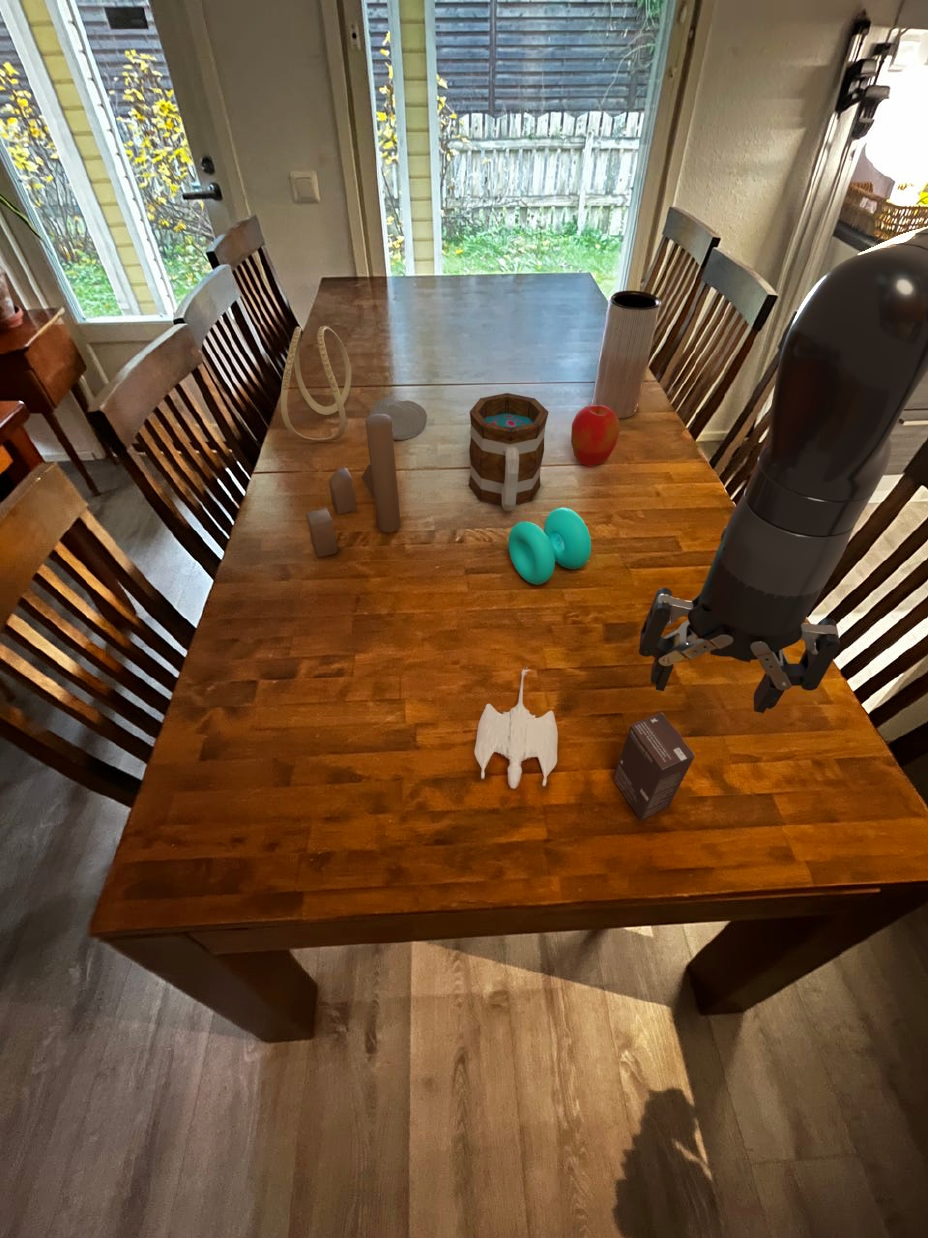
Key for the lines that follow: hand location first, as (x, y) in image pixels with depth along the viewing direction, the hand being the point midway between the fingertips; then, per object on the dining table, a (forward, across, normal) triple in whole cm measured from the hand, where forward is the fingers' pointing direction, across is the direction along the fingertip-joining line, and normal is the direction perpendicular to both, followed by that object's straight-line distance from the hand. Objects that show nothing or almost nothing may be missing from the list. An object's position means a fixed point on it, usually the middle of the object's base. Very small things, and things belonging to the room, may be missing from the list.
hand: (708, 694), depth 56 cm
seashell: (+23, -57, +73) cm, 96 cm away
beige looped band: (+23, -72, +70) cm, 103 cm away
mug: (+22, -30, +56) cm, 68 cm away
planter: (+22, -14, +95) cm, 99 cm away
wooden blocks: (+23, -55, +43) cm, 74 cm away
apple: (+22, -17, +72) cm, 77 cm away
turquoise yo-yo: (+22, -19, +38) cm, 48 cm away
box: (+22, -2, +2) cm, 23 cm away
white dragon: (+22, -17, +6) cm, 29 cm away
